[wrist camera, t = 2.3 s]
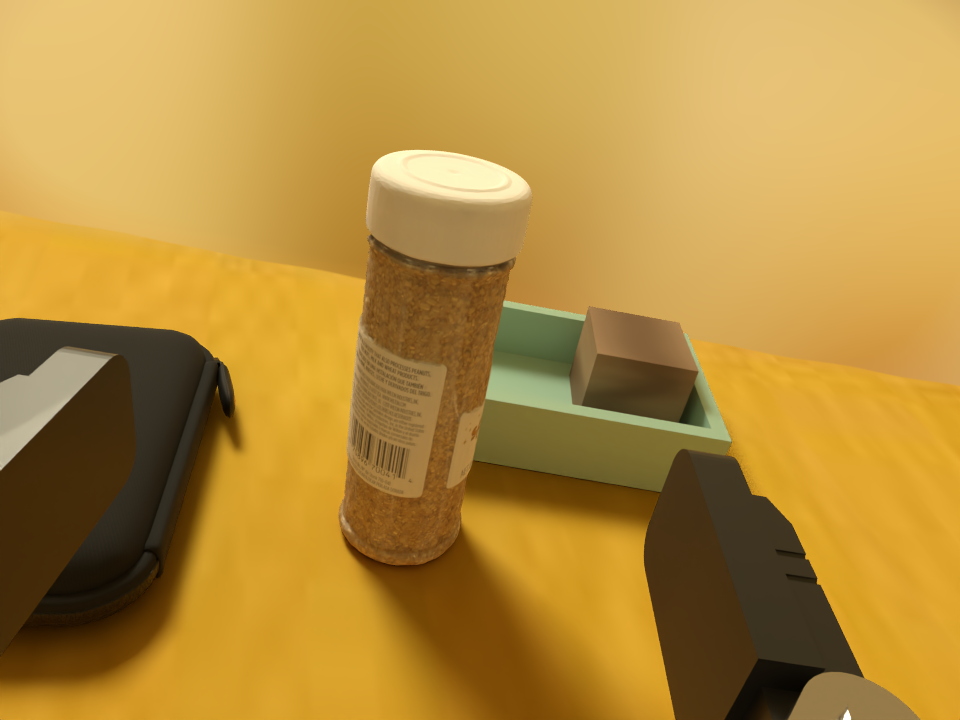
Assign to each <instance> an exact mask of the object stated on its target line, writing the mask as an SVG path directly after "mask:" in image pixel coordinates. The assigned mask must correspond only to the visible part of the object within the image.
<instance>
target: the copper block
mask: <svg viewBox="0 0 960 720" xmlns="http://www.w3.org/2000/svg"><path fill="white" fill-rule="evenodd" d="M698 372H699V371H698V368H697V366H696V363H695V361H694V358H693V356H692V353H691V351H690V348H689V346H688V343H687V341H686V338H685V336H684V334H683V331H682V329H681V326H680V324H679V323H677V322H672V321H666V320H661V319H655V318H649V317H644V316H639V315H633V314H628V313H622V312H617V311H611V310H605V309H600V308H595V307H590V306H589V308H588V311H587V315H586V318H585V322H584V325H583V328H582V332H581V335H580V339H579V342H578V346H577V349H576V353H575V356H574V360H573V363H572V367H571V370H570V374H569V379H570V388H571V397H572V404H573V405H579V406H585V407H590V408H596V409H602V410H607V411H613V412H619V413H624V414H630V415H636V416H641V417H647V418H653V419H658V420H664V421H670V422H676V423H679V420H680V418H681V415H682V413H683V410H684V408H685V405H686V403H687V400H688V398H689V395H690V393H691V390H692V388H693V385H694V383H695V380H696V378H697V375H698Z"/></svg>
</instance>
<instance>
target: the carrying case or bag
mask: <svg viewBox="0 0 960 720" xmlns="http://www.w3.org/2000/svg"><path fill="white" fill-rule="evenodd" d="M67 346H69V347H75V348H81V349H87V350H93V351H99V352H105V353H111V354H118V355H122V356H123V357H125V359H126V360H127V362H128V365H129V370H130V379H131V390H132V401H133V412H134V422H135V433H136V454H135V460H134V464H133V467H132V470H131V473H130V475H129V478H128V480H127V482H126V483H125V485H124V487H123V488H122V489H121V491H120V492H119V494H118V495H117V496H116V498H115V499H114V500H113V502H112V503H111V505H110V506H109V507H108V509H107V510H106V511H105V513H104V514H103V516H102V517H101V518H100V520H99V521H98V522H97V524H96V525H95V527H94V528H93V529H92V531H91V532H90V534H89V535H88V536H87V538H86V539H85V540H84V542H83V543H82V545H81V546H80V547H79V549H78V550H77V551H76V553H75V554H74V556H73V557H72V558H71V560H70V561H69V562H68V564H67V565H66V567H65V568H64V569H63V571H62V572H61V573H60V575H59V576H58V578H57V579H56V580H55V582H54V583H53V585H52V586H51V587H50V589H49V590H48V591H47V593H46V594H45V596H44V597H43V598H42V600H41V601H40V602H39V604H38V605H37V607H36V608H35V609H34V611H33V612H32V613H31V615H30V616H29V618H28V619H27V620H26V622H25V623H24V624H23V626H67V625H78V624H83V623H88V622H91V621H95V620H98V619H101V618H104V617H107V616H109V615H112V614H114V613H116V612H117V611H119V610H121V609H122V608H124V607H126V606H127V605H129V604H130V603H132V602H133V601H134V600H136V599H137V598H138V597H139V596H140V595H142V594H143V593H144V591H145V590H146V589H147V588H148V587H149V586H150V584H151V583H152V581H153V579H154V578H159V577H160V576H161V575H162V573H163V569H164V563H165V558H166V555H167V552H168V548H169V545H170V542H171V538H172V535H173V532H174V528H175V525H176V522H177V518H178V515H179V512H180V508H181V505H182V502H183V498H184V495H185V492H186V488H187V485H188V482H189V478H190V475H191V471H192V468H193V465H194V461H195V458H196V455H197V451H198V448H199V445H200V441H201V438H202V435H203V431H204V428H205V425H206V421H207V418H208V415H209V411H210V408H211V405H212V401H213V398H214V395H215V391H216V389H217V385H218V390H219V395H220V400H221V404H222V408H223V411H224V413H225V415H226V416H227V417H228V418H229V419H230V418H231V417H232V416H233V413H234V409H235V398H234V390H233V385H232V382H231V378H230V374H229V371H228V369H227V367H226V366H225V365H224V364H223V362H221V361H219V359H218V358H213V356H212V354H211V353H210V352H209V351H208V350H207V349H206V348H204V347H203V346H202V345H200V344H199V343H198V342H197V341H196V340H195V339H194V338H193V337H191V336H189V335H187V334H184V333H181V332H178V331H174V330H165V329H153V328H140V327H128V326H115V325H102V324H89V323H77V322H64V321H51V320H38V319H25V318H13V319H5V320H0V383H1V382H3V381H5V380H7V379H10V378H12V377H14V376H16V375H25V376H29V375H31V374H32V373H33V372H34V371H35V370H36V369H37V368H38V367H40V366H41V365H42V364H43V363H44V362H45V361H46V360H47V359H49V358H50V357H51V356H52V355H53V354H54V353H55V352H57V351H58V350H59V349H61V348H63V347H67Z"/></svg>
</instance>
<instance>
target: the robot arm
mask: <svg viewBox="0 0 960 720" xmlns="http://www.w3.org/2000/svg"><path fill="white" fill-rule="evenodd" d="M135 454H136V433H135V422H134V412H133V401H132V390H131V379H130V370H129V365H128V362H127V360H126V359H125V357H123V356H122V355H118V354H111V353H105V352H99V351H93V350H87V349H81V348H75V347H69V346H67V347H63V348H61V349H59V350H58V351H57V352H55V353H54V354H53V355H52V356H51V357H50V358H49V359H47V360H46V361H45V362H44V363H43V364H42V365H41V366H40V367H38V368H37V369H36V370H35V371H34V372H33V373H32V374H31V375H29V376H25V375H16V376H14V377H12V378H10V379H7V380H5V381H3V382H1V383H0V656H1V655H2V653H3V652H4V651H5V649H6V648H7V647H8V645H9V644H10V642H11V641H12V640H13V638H14V637H15V636H16V634H17V633H18V631H19V630H20V629H21V627H22V626H23V624H24V623H25V622H26V620H27V619H28V618H29V616H30V615H31V613H32V612H33V611H34V609H35V608H36V607H37V605H38V604H39V602H40V601H41V600H42V598H43V597H44V596H45V594H46V593H47V591H48V590H49V589H50V587H51V586H52V585H53V583H54V582H55V580H56V579H57V578H58V576H59V575H60V573H61V572H62V571H63V569H64V568H65V567H66V565H67V564H68V562H69V561H70V560H71V558H72V557H73V556H74V554H75V553H76V551H77V550H78V549H79V547H80V546H81V545H82V543H83V542H84V540H85V539H86V538H87V536H88V535H89V534H90V532H91V531H92V529H93V528H94V527H95V525H96V524H97V522H98V521H99V520H100V518H101V517H102V516H103V514H104V513H105V511H106V510H107V509H108V507H109V506H110V505H111V503H112V502H113V500H114V499H115V498H116V496H117V495H118V494H119V492H120V491H121V489H122V488H123V487H124V485H125V483H126V482H127V480H128V478H129V475H130V473H131V470H132V467H133V464H134V460H135ZM805 555H806V553H805V551H804V549H803V547H802V545H801V543H800V541H799V538H798V536H797V534H796V532H795V530H794V528H793V526H792V524H791V523H790V522H789V521H788V520H787V519H786V518H785V517H784V516H783V515H782V513H781V512H780V511H779V510H778V509H777V508H776V507H775V506H774V505H773V504H772V503H771V502H770V501H769V500H768V499H767V498H766V497H763V496H756V495H752V494H751V491H750V489H749V487H748V484H747V482H746V480H745V477H744V475H743V473H742V470H741V468H740V466H739V463H738V462H737V460H736V459H735V458H734V457H731V456H725V455H719V454H712V453H706V452H700V451H694V450H688V449H681V450H680V451H679V452H678V453H677V454H676V456H675V458H674V460H673V462H672V465H671V468H670V470H669V473H668V475H667V478H666V481H665V483H664V486H663V489H662V491H661V494H660V496H659V499H658V502H657V504H656V507H655V509H654V512H653V515H652V517H651V520H650V523H649V525H648V529H647V533H646V538H645V545H644V566H645V572H646V577H647V582H648V587H649V592H650V596H651V601H652V606H653V611H654V616H655V621H656V626H657V631H658V636H659V641H660V646H661V651H662V656H663V660H664V665H665V670H666V675H667V680H668V685H669V690H670V695H671V700H672V705H673V710H674V715H675V719H676V720H920V719H919V718H918V716H917V715H916V714H915V713H914V712H913V711H912V710H911V709H910V708H909V707H908V706H907V705H905V704H904V703H903V702H902V701H901V700H900V699H898V698H897V697H896V696H894V695H893V694H892V693H890V692H889V691H887V690H886V689H884V688H882V687H881V686H879V685H877V684H875V683H874V682H871V681H869V680H867V679H865V678H864V676H863V674H862V672H861V670H860V668H859V666H858V664H857V661H856V659H855V657H854V655H853V653H852V651H851V649H850V647H849V644H848V642H847V640H846V638H845V636H844V634H843V632H842V630H841V628H840V625H839V623H838V621H837V619H836V617H835V615H834V613H833V611H832V608H831V606H830V604H829V602H828V600H827V598H826V596H825V594H824V591H823V589H822V587H821V585H817V577H816V575H815V572H814V570H813V568H812V566H811V564H810V562H809V560H806V559H805Z"/></svg>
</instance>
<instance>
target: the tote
mask: <svg viewBox="0 0 960 720" xmlns="http://www.w3.org/2000/svg"><path fill="white" fill-rule="evenodd" d="M585 318H586V315H581V314H575V313H570V312H564V311H559V310H553V309H548V308H542V307H537V306H531V305H526V304H520V303H515V302H509V301H504V302H503V308H502V312H501V317H500V322H499V326H498V332H497V335H496V339H495V343H494V349H493V360H492V367H491V373H490V379H489V384H488V388H487V393H486V398H485V403H484V408H483V413H482V418H481V423H480V428H479V433H478V437H477V442H476V447H475V452H474V456H473V460H475V461H481V462H487V463H493V464H498V465H504V466H510V467H516V468H522V469H528V470H534V471H539V472H545V473H551V474H557V475H563V476H569V477H575V478H580V479H586V480H592V481H598V482H604V483H610V484H616V485H622V486H627V487H633V488H639V489H645V490H651V491H657V492H661V491H662V489H663V486H664V483H665V481H666V478H667V475H668V473H669V470H670V468H671V465H672V462H673V460H674V458H675V456H676V454H677V453H678V452H679V451H680V450H681V449H688V450H694V451H700V452H706V453H712V454H719V455H725V456H726V454H727V452H728V450H729V447H730V445H731V443H732V441H731V438H730V436H729V434H728V431H727V429H726V426H725V424H724V421H723V419H722V417H721V414H720V412H719V409H718V407H717V405H716V402H715V400H714V397H713V395H712V392H711V390H710V388H709V385H708V383H707V380H706V378H705V376H704V373H703V371H702V368H701V366H700V363H699V361H698V359H697V356H696V354H695V351H694V349H693V347H692V344H691V342H690V339H689V337H688V334H685V333H683V334H684V336H685V338H686V341H687V343H688V346H689V348H690V351H691V353H692V356H693V358H694V361H695V363H696V366H697V368H698V371H699V372H698V375H697V378H696V380H695V383H694V385H693V388H692V390H691V393H690V395H689V398H688V400H687V403H686V405H685V408H684V410H683V413H682V415H681V418H680V420H679V423H676V422H670V421H664V420H658V419H653V418H647V417H641V416H636V415H630V414H624V413H619V412H613V411H607V410H602V409H596V408H590V407H585V406H579V405H573V404H572V397H571V388H570V379H569V374H570V370H571V367H572V363H573V360H574V356H575V353H576V349H577V346H578V342H579V339H580V335H581V332H582V328H583V325H584V322H585Z"/></svg>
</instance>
